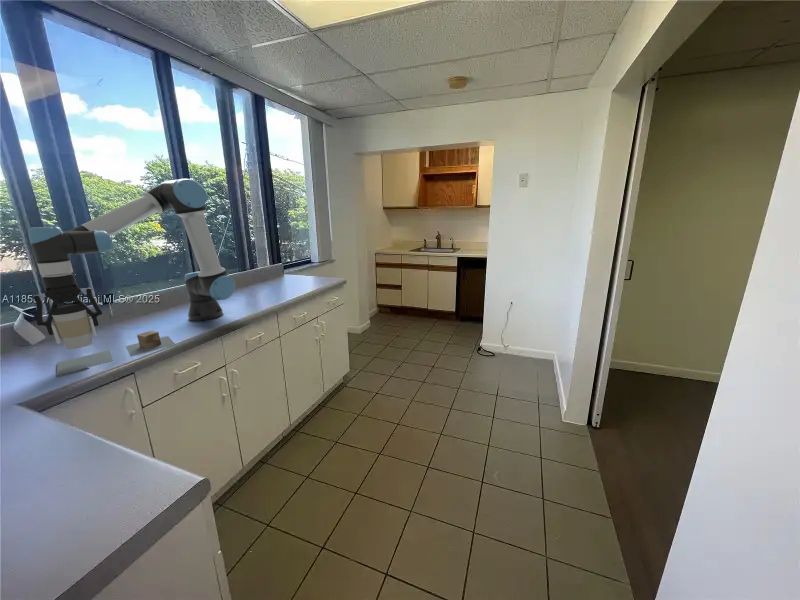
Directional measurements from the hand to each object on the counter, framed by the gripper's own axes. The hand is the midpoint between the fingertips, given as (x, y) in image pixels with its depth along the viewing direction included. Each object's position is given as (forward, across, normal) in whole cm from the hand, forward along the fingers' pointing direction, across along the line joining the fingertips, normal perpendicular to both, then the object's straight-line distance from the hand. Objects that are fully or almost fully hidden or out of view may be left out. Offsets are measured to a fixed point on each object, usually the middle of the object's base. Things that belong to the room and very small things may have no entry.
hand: (77, 338), depth 113 cm
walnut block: (+9, -19, 0) cm, 21 cm away
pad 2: (+9, -19, 0) cm, 21 cm away
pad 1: (+9, 0, 0) cm, 9 cm away
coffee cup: (+3, 0, 0) cm, 3 cm away
